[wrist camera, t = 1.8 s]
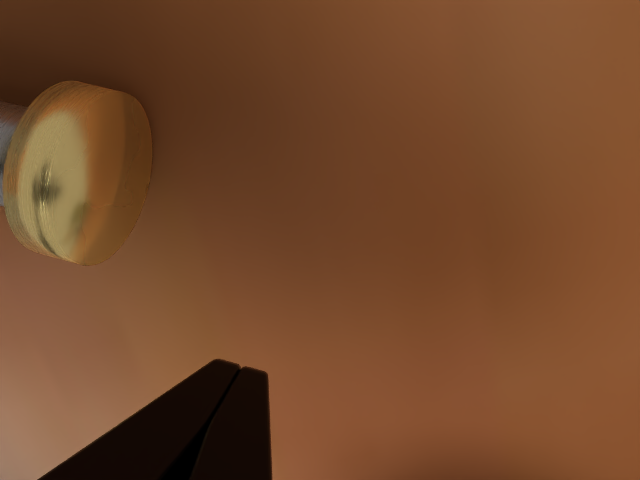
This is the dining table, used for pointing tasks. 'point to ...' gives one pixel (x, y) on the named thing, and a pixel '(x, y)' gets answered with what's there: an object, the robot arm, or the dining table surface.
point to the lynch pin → (74, 170)
